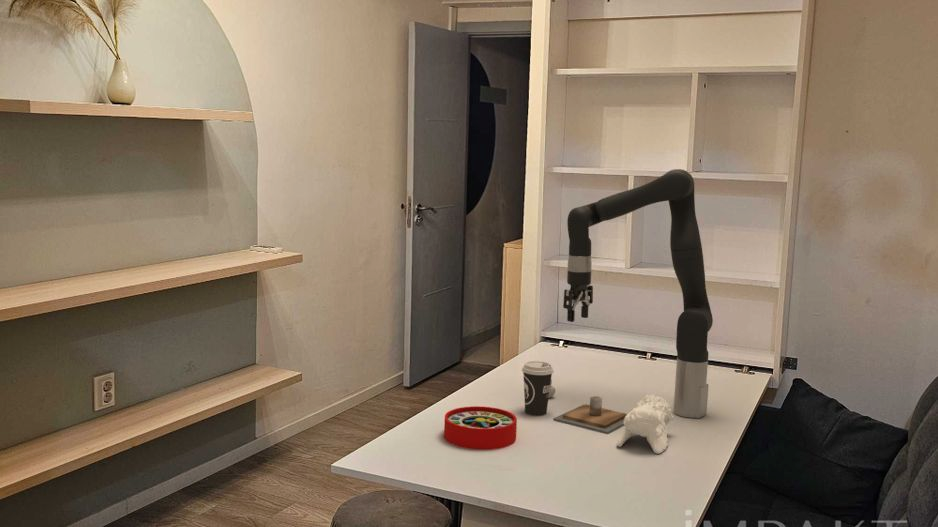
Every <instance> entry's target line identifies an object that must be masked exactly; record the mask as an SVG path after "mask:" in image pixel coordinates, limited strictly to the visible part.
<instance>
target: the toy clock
mask: <svg viewBox="0 0 938 527" xmlns="http://www.w3.org/2000/svg"><path fill="white" fill-rule="evenodd" d="M517 420H518V418H517V416H516V415H515V414H513V413H512V412H510V411H508V410H505V409H502V408H498V407H492V406H477V405H474V406H473V405H472V406H464V407H462V406H461V407H458V408H454V409H451V410H449V411H447V412H446V413H445V414H444V427H443V438H444V440H445V441H446V442H448V443H449V444H452V445H453V446H456V447H460V448H464V449H469V450H477V451H478V450H479V451H481V450H485V451H486V450H487V451H488V450H498V449H503V448H506V447H508V446H511V445H513V444H514V443H516V440H517V429H518V428H517V426H518V424H517V423H518V421H517Z"/></svg>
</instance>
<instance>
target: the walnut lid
mask: <svg viewBox="0 0 938 527" xmlns="http://www.w3.org/2000/svg"><path fill="white" fill-rule="evenodd" d="M602 403H603V398H602V397H601V396H593V395H592V396H590V397H589V404H582V405H583V406H581V405H580V406H581V407H579V406H578V407H579V408H577V407H576V408H577V409H575V408H574V409H575V410H573V409H571V410H572V411H571V410H569V411H570V412H568V411H567V412H568V413H566V412H565V413H566V414H564V413H563V414H564V415H563V418H564V419H568V420H572V421H576V422H580V423H584V424H588V425H592V426H596V427H600V428H604V429H605V428H607V427H609V426H611V425H613V424H615V423H617V422H619V421H621V420H623V419H624V418H625V416H626V415H628V413H625V412H620V411H616V410H612V409H608V408H605V407H604V408H603V406H602Z"/></svg>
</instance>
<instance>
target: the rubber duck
mask: <svg viewBox="0 0 938 527" xmlns="http://www.w3.org/2000/svg"><path fill="white" fill-rule="evenodd" d="M552 383H553V381H552V379H551V383H550V390H549V398H551V397H553V396H554V395H555V393H556V388H555V387H554V386H552ZM549 398H548V399H549Z"/></svg>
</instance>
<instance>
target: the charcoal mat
mask: <svg viewBox="0 0 938 527" xmlns="http://www.w3.org/2000/svg"><path fill="white" fill-rule="evenodd" d="M583 405H584V404H582V405H580V406H577V407H575V408H573V409H571V410H569V411H566V412H564V413H562V414H560V415H557V416H556V417H553V419H552V420H553V421H555V422H559V423H562V424H567V425H571V426H575V427H579V428H583V429H586V430H590V431H594V432H598V433H602V434H607V435H608V434H611V433H613V432H614V431H616V430H618V429H620V428H622V427H623V426H624V424H623V423H624V419H625V418H624V419H623V420H621V421H619V422H617V423H615V424H613V425H611V426H609V427H607V428H605V429H604V428H600V427H596V426H592V425H588V424H584V423H580V422H576V421H572V420H568V419H564V418H563V415H564V414H566V413H568V412H570V411H572V410H575V409H577V408H579V407H581V406H583ZM624 427H625V426H624Z"/></svg>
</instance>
